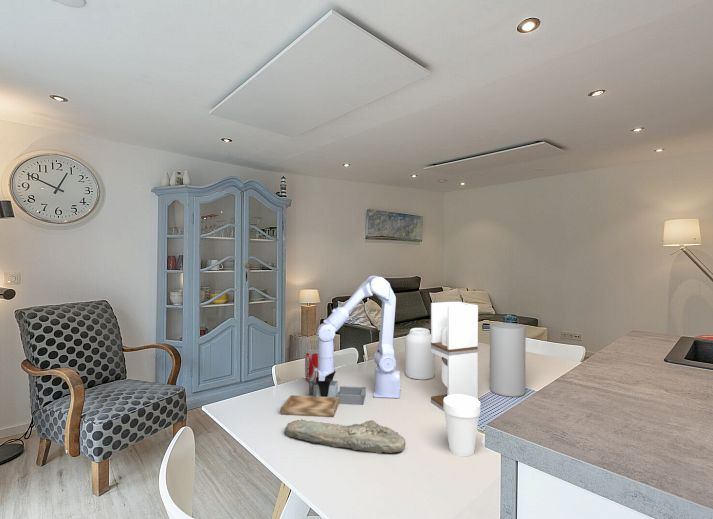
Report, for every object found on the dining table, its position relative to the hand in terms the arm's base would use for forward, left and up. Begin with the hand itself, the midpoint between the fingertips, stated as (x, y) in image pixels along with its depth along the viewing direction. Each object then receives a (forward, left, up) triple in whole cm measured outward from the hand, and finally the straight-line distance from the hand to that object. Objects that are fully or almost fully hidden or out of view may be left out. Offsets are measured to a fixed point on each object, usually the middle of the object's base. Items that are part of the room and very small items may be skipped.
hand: (325, 394), depth 132 cm
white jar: (-35, -30, -2) cm, 46 cm away
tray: (+3, +10, -1) cm, 11 cm away
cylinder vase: (-67, -15, -2) cm, 69 cm away
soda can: (+9, -19, -2) cm, 21 cm away
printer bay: (-9, 0, -1) cm, 9 cm away
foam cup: (-43, +30, -2) cm, 53 cm away
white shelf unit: (-45, +1, -2) cm, 45 cm away
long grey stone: (-11, +29, -2) cm, 31 cm away
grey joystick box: (+1, 0, -1) cm, 2 cm away
